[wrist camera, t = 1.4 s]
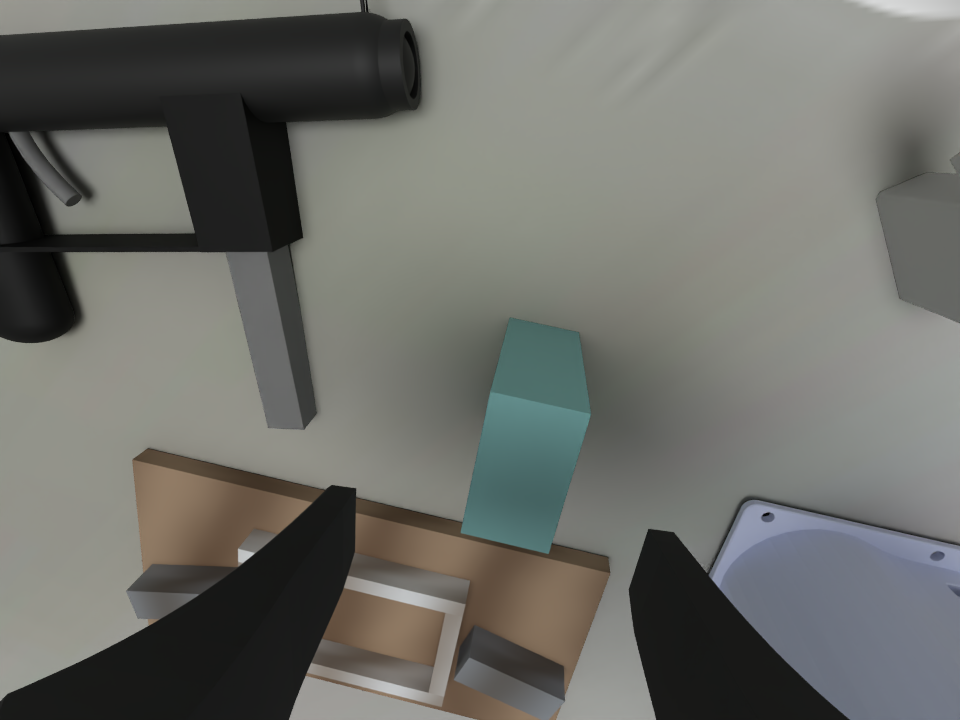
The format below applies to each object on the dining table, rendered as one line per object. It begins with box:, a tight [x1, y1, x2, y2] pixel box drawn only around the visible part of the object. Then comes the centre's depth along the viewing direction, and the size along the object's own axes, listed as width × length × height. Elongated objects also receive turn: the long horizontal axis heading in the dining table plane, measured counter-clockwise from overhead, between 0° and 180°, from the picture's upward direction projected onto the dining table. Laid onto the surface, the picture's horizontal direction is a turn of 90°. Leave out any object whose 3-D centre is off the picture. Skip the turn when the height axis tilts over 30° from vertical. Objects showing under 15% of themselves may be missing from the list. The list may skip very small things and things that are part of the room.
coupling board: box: [126, 449, 610, 720], centre depth 26 cm, size 23×12×3 cm, turn 79°
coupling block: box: [461, 318, 591, 554], centre depth 18 cm, size 3×5×7 cm, turn 169°
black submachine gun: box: [0, 0, 421, 430], centre depth 20 cm, size 3×20×16 cm
